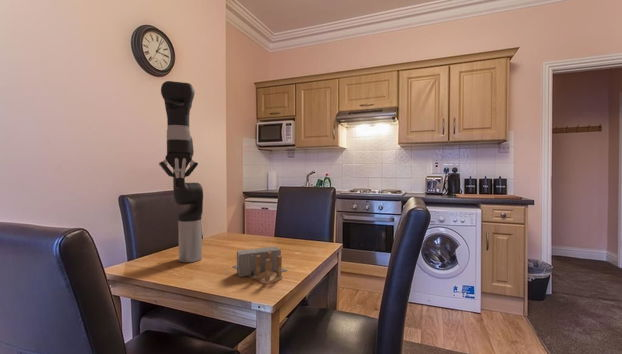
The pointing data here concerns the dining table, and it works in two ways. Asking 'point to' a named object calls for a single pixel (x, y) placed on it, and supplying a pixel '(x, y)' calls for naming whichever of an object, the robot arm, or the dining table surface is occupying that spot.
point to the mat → (253, 275)
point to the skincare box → (248, 260)
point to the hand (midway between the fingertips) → (179, 188)
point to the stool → (268, 270)
